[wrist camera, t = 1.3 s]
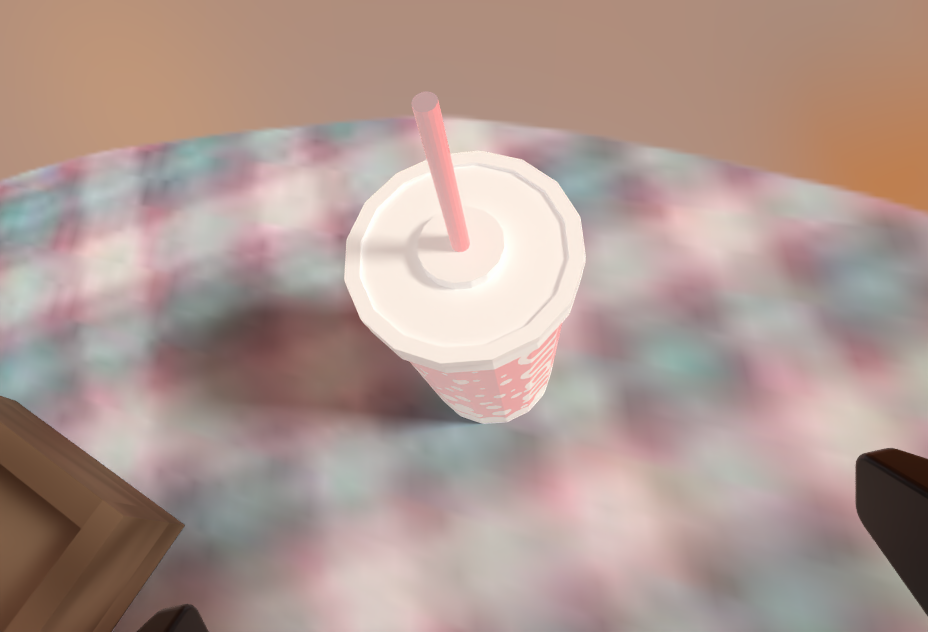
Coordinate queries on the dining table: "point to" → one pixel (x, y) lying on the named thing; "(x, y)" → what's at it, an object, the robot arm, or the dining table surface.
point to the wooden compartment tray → (69, 532)
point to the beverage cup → (468, 272)
